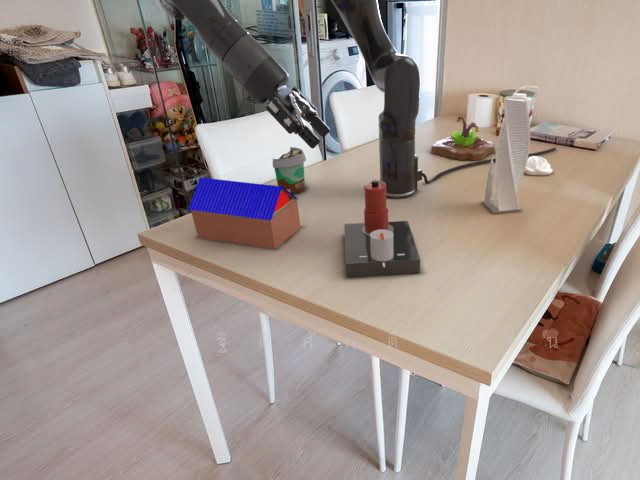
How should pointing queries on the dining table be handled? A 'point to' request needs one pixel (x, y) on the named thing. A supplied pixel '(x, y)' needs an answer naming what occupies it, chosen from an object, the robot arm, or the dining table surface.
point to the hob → (364, 265)
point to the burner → (369, 233)
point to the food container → (291, 170)
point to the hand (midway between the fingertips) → (322, 139)
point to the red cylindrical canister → (375, 207)
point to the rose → (537, 166)
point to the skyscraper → (510, 153)
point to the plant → (463, 145)
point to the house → (244, 212)
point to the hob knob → (382, 245)
